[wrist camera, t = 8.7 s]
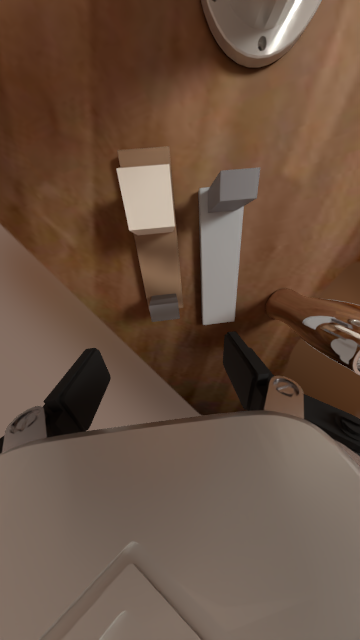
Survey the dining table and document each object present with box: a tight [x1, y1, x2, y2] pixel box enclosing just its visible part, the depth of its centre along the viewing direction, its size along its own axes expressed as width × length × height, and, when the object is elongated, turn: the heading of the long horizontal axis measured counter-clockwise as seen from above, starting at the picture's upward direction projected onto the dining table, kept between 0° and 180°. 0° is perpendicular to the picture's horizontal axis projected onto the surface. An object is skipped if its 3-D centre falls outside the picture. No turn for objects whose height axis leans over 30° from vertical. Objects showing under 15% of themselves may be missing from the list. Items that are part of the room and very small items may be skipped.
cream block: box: [116, 164, 175, 235], centre depth 17 cm, size 5×5×5 cm
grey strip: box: [198, 168, 260, 325], centre depth 21 cm, size 20×6×6 cm, turn 5°
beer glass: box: [266, 288, 360, 375], centre depth 21 cm, size 7×7×15 cm
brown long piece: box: [117, 146, 183, 322], centre depth 19 cm, size 20×6×6 cm, turn 5°
